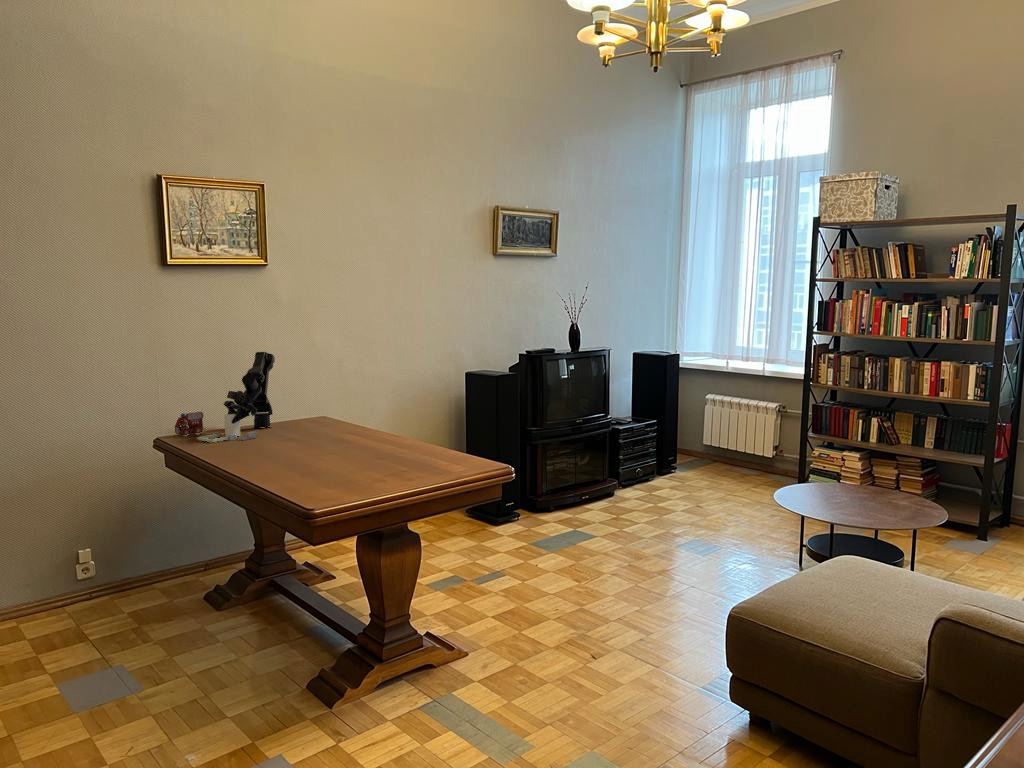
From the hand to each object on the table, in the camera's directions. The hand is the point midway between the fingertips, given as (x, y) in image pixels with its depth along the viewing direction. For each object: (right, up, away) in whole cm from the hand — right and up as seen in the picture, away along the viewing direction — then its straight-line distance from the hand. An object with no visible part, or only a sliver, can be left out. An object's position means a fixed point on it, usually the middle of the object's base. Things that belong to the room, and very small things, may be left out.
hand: (229, 422), depth 333 cm
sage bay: (-5, -7, -6) cm, 10 cm away
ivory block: (+1, -6, +2) cm, 7 cm away
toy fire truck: (-21, -6, +9) cm, 24 cm away
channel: (+1, -6, +2) cm, 7 cm away
